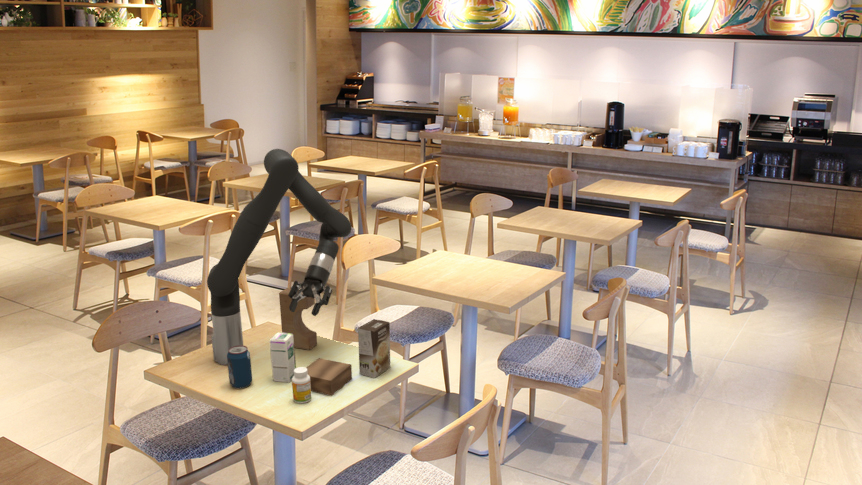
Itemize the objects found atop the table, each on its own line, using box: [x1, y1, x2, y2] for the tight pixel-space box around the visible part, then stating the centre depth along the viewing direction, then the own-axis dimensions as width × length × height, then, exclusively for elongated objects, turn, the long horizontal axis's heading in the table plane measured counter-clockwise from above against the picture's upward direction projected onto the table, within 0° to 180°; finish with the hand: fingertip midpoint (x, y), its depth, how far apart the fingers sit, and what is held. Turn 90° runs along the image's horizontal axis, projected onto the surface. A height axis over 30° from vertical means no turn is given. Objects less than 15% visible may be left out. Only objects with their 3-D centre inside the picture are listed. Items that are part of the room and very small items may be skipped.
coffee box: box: [357, 318, 391, 379], centre depth 232 cm, size 9×6×16 cm
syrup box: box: [268, 332, 297, 383], centre depth 228 cm, size 6×6×14 cm
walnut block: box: [305, 357, 353, 397], centre depth 225 cm, size 12×12×5 cm
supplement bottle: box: [291, 366, 312, 404], centre depth 215 cm, size 5×5×10 cm
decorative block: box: [278, 287, 318, 351], centre depth 251 cm, size 11×6×20 cm, turn 68°
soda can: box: [227, 345, 253, 389], centre depth 224 cm, size 7×7×12 cm
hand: (302, 313), depth 235 cm, fingers open, 8 cm apart
